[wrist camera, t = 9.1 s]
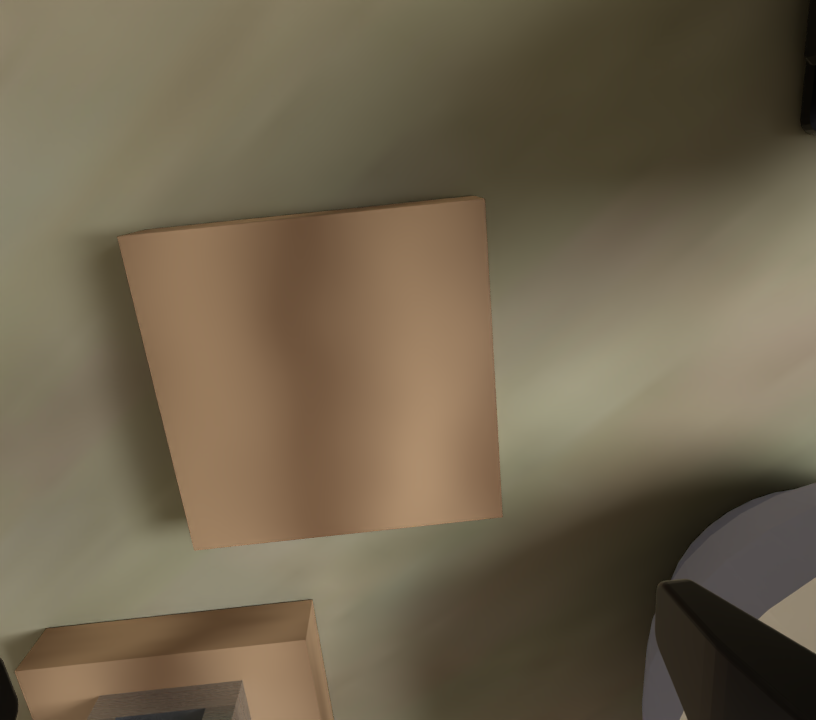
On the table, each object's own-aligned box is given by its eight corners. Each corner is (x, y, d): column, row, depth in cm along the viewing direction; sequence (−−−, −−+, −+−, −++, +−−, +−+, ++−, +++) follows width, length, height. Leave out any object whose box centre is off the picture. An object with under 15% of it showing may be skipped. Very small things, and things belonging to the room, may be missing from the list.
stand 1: (474, 195, 18) (484, 198, 16) (491, 485, 21) (502, 517, 19) (145, 229, 18) (117, 236, 16) (211, 515, 21) (194, 550, 19)
